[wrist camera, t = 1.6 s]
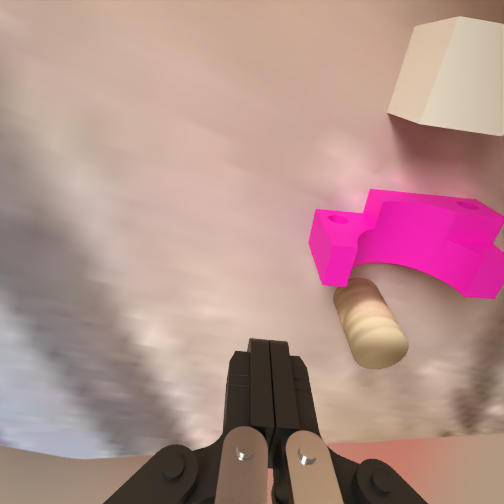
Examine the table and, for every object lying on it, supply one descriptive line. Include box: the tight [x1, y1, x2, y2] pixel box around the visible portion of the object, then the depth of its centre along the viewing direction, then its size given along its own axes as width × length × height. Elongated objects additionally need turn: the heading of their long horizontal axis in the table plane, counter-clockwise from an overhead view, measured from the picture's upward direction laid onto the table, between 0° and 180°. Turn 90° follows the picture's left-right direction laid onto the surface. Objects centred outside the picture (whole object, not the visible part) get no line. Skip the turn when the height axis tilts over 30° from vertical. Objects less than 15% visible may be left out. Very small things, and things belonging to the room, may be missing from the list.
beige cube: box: [387, 16, 504, 136], centre depth 23 cm, size 6×6×6 cm
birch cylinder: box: [334, 278, 408, 369], centre depth 33 cm, size 5×5×8 cm
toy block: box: [309, 189, 504, 299], centre depth 29 cm, size 15×6×8 cm, turn 84°
